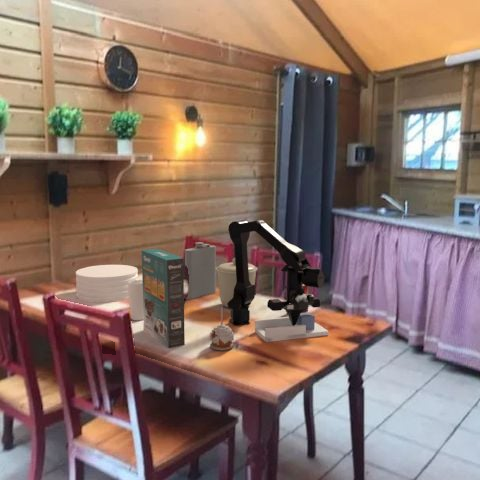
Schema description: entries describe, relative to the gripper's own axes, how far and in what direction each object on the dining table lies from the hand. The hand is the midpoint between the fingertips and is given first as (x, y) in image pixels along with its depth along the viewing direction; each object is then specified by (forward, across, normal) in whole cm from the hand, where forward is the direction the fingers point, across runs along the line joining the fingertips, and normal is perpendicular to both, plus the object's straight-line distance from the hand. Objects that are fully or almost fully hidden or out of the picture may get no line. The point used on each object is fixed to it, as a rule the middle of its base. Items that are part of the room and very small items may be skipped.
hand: (293, 326), depth 187 cm
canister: (+3, -9, +41) cm, 42 cm away
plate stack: (+3, -61, +77) cm, 98 cm away
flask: (+3, -20, +62) cm, 65 cm away
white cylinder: (+3, -52, +34) cm, 62 cm away
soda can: (+3, +13, +24) cm, 28 cm away
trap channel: (+3, -1, 0) cm, 3 cm away
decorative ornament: (+3, -29, -6) cm, 30 cm away
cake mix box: (+3, -46, +10) cm, 47 cm away
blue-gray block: (+1, +5, 0) cm, 5 cm away
